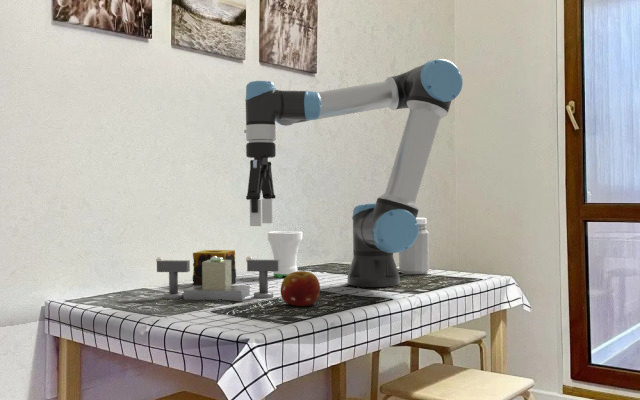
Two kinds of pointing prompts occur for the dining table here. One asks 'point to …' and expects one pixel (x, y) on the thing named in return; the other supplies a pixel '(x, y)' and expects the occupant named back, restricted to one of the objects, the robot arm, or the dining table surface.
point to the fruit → (300, 288)
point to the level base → (216, 293)
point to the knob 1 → (173, 274)
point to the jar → (416, 252)
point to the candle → (207, 255)
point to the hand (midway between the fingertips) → (261, 224)
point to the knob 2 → (262, 274)
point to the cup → (285, 250)
